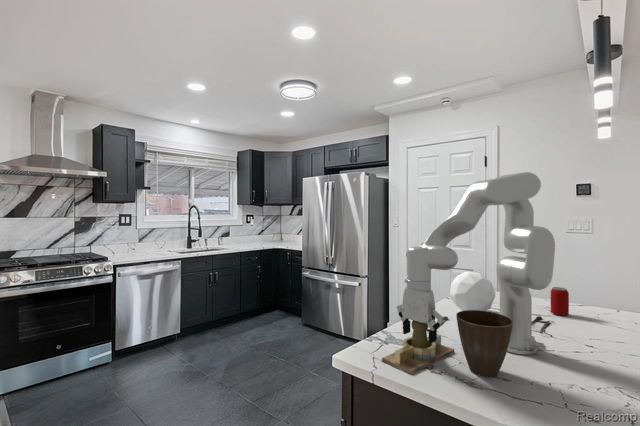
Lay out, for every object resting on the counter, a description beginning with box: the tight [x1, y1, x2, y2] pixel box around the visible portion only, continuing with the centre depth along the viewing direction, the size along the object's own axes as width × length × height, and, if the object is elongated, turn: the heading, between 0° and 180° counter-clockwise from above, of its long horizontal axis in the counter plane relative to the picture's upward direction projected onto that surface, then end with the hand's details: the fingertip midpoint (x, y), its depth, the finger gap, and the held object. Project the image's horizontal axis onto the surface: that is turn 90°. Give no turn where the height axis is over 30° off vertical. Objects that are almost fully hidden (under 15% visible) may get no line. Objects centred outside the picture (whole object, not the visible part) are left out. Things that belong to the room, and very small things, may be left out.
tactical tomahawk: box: [426, 316, 449, 332], centre depth 136 cm, size 21×7×1 cm, turn 141°
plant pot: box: [455, 310, 513, 378], centre depth 97 cm, size 15×15×16 cm
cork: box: [411, 320, 429, 348], centre depth 107 cm, size 6×6×11 cm
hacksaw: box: [532, 315, 555, 338], centre depth 134 cm, size 24×10×2 cm, turn 133°
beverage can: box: [550, 286, 570, 317], centre depth 151 cm, size 7×7×12 cm
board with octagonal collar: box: [381, 344, 455, 375], centre depth 107 cm, size 24×11×1 cm, turn 129°
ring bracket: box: [394, 333, 442, 365], centre depth 107 cm, size 23×10×4 cm, turn 129°
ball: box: [449, 271, 496, 311], centre depth 154 cm, size 19×20×20 cm
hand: (419, 337), depth 107 cm, fingers open, 9 cm apart
